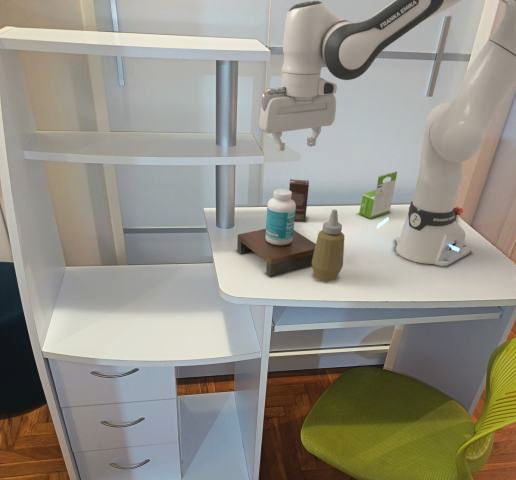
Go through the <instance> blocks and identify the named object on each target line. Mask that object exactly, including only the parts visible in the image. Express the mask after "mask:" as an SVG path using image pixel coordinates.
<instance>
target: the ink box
mask: <svg viewBox="0 0 516 480" xmlns="http://www.w3.org/2000/svg"><path fill="white" fill-rule="evenodd" d="M397 176H398V171H397V170H396V171H392V172H389V173H385V174H382V175H379V176H377V177H378V178H377V183H376V189H374V190H370V191H367V192H364V193H362V196H361V202H360V206H359V211H358V214H359V215H361V216H363V217H366V218H367V219H370V220H371V219H374V218H377V217H381V216H384V215H386V214H389V213H390V212H391V207H392V202H393V197H394V193H395V192H394V191H395V187H396V181H397ZM387 178H390V180H389V181H385V182H384V180H385V179H387Z"/></svg>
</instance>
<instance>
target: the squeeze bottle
mask: <svg viewBox="0 0 516 480" xmlns="http://www.w3.org/2000/svg"><path fill="white" fill-rule="evenodd" d="M338 215H339V214H338V210H337V209H331V213H330V215H329V217H328V221H325V222H323V224H322V229H321V230H320V231H319V232H318V233H317V237H316V242H315V244H316V246H315V250H314V254H313V259H312V266H311V267H312V271H313V275H314V277H315V279H317V280H319V281H322V282H333V281H335V280H337V278H338V276H339V275H340V272H341V271H342V269H343V266H344V256H345V255H344V254H345V253H344V252H345V235H344V233H343V232H342V229H343V225H342V223H340V222H339V216H338Z"/></svg>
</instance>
